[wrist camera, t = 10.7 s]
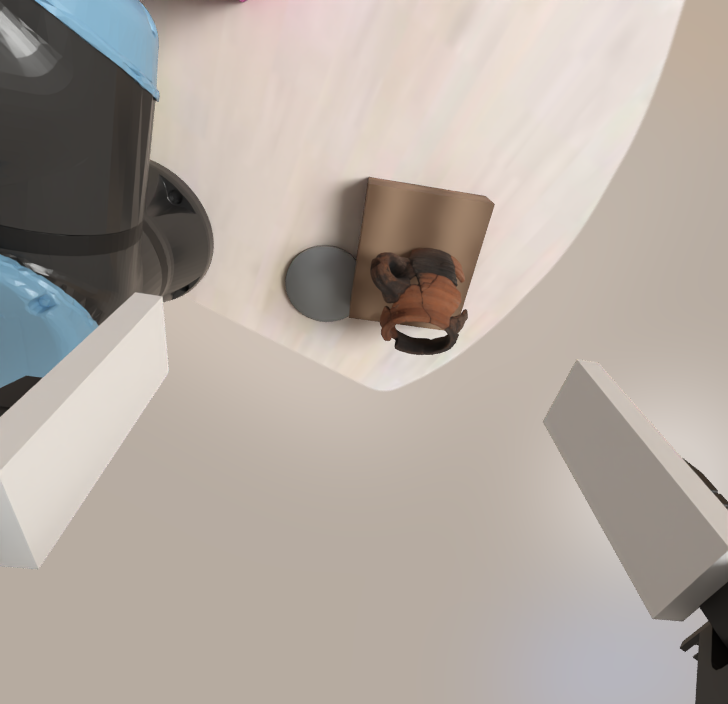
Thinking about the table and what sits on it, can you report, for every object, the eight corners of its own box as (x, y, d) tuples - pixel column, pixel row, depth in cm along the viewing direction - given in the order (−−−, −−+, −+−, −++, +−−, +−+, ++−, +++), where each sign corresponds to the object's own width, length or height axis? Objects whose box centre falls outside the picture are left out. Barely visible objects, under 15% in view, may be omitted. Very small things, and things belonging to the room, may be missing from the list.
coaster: (284, 314, 49) (283, 316, 49) (288, 239, 44) (287, 241, 44) (359, 324, 50) (359, 326, 49) (371, 252, 45) (371, 253, 45)
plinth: (349, 303, 49) (349, 317, 46) (368, 177, 41) (369, 183, 38) (449, 317, 50) (455, 331, 47) (485, 196, 42) (494, 204, 39)
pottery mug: (487, 275, 43) (486, 344, 39) (419, 307, 50) (413, 368, 46) (407, 206, 37) (397, 279, 33) (342, 253, 43) (327, 319, 40)
